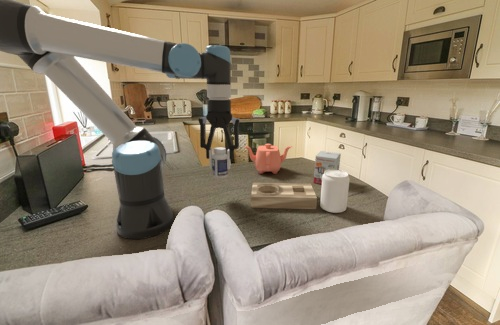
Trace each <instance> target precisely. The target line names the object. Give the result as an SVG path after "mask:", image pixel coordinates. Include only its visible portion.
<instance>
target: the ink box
mask: <svg viewBox="0 0 500 325" xmlns="http://www.w3.org/2000/svg"><path fill="white" fill-rule="evenodd" d="M341 155H342V153H339V152H332V151H331V152H330V151H323V150H320V151H319V152H317V154H316V155H315V159H314V160H315V162H314V173H313V184H317V185H322V176H323V174H324V172H325V171H327V170H340V164H341V163H340V162H341Z"/></svg>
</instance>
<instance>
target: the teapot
mask: <svg viewBox="0 0 500 325" xmlns="http://www.w3.org/2000/svg"><path fill="white" fill-rule="evenodd" d="M292 147H293V146H291V145H290V146H286V147H285V148H284V151H283V153H282V155H281V154H280V152H281V151H280V149H279V147H278V145H272V144H271V143H265V144H264V145H259V146H258V147H257V149H256V153H255V154H254V153H253V151H252V148H251V147H250V146H245V145H244V146H243V148H245V149H247V151H248V154H249V157H250V160H251V161H252V162H253V163H254V166H255V169H256V170H257V171H258V174H265V172H271V173H272V174H278V172H279V171H280V169H281V166H282V163H284V161H285V160H286V159H287V154H288V151H289V149H291V148H292Z"/></svg>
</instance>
